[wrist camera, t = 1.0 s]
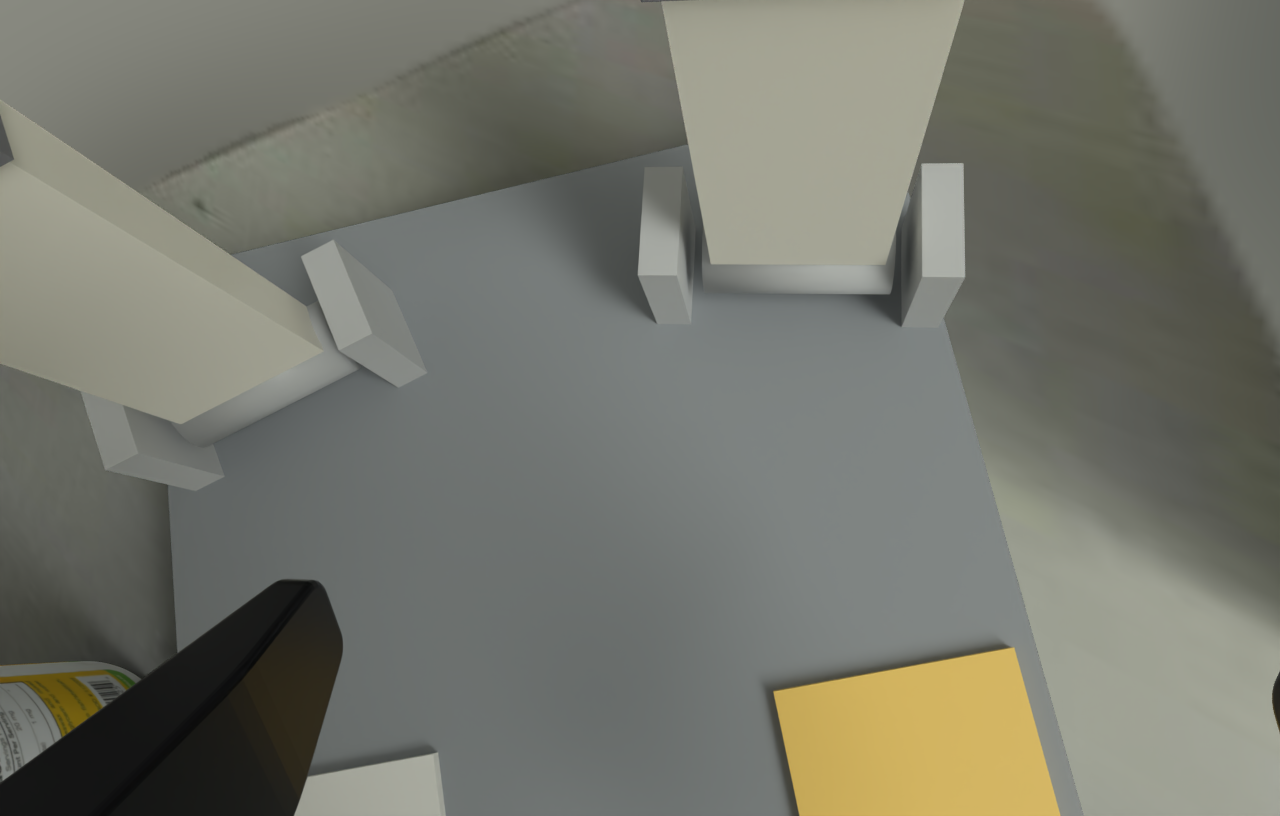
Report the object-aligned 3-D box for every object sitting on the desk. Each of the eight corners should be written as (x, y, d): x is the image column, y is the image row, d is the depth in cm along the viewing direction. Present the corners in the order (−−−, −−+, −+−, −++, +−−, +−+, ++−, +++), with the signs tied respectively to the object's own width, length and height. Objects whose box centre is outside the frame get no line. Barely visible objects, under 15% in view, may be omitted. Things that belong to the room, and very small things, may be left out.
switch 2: (886, 305, 21) (1032, -128, 9) (706, 304, 22) (615, -103, 9) (886, 230, 21) (1027, -283, 9) (710, 230, 22) (626, -251, 10)
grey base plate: (1096, 873, 20) (1200, 956, 15) (251, 1008, 22) (94, 1122, 17) (888, 135, 25) (917, 9, 20) (200, 298, 26) (65, 222, 21)
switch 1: (369, 378, 22) (-113, 87, 10) (221, 454, 22) (-430, 254, 10) (343, 314, 23) (-147, -35, 11) (197, 388, 23) (-449, 125, 11)
